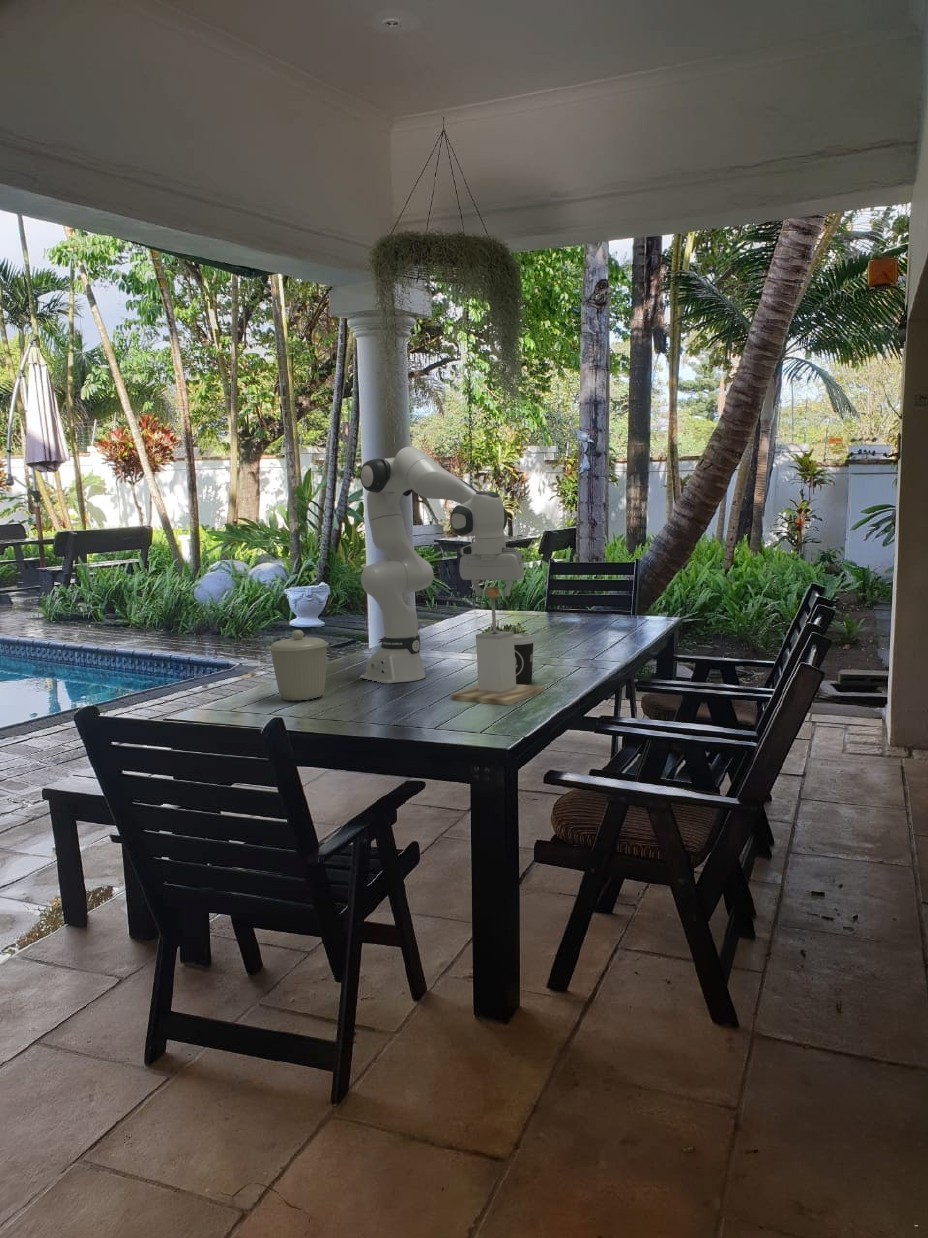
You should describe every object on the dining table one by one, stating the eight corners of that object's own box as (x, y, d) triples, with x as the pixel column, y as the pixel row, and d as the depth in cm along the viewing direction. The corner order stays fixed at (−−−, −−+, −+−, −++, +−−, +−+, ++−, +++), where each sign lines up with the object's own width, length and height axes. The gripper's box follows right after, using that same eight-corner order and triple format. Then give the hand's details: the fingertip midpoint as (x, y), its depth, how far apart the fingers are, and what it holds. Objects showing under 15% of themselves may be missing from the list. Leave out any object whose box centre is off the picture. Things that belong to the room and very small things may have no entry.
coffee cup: (534, 686, 299) (532, 637, 297) (503, 686, 301) (501, 638, 299) (538, 680, 308) (536, 632, 306) (508, 680, 310) (506, 633, 308)
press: (478, 692, 287) (475, 634, 285) (498, 685, 296) (495, 629, 293) (501, 694, 282) (498, 636, 280) (520, 687, 291) (518, 630, 289)
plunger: (482, 658, 286) (478, 588, 283) (493, 654, 291) (489, 586, 288) (498, 659, 283) (495, 588, 280) (509, 655, 287) (506, 586, 285)
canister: (326, 689, 311) (321, 623, 308) (337, 700, 294) (332, 630, 291) (269, 696, 305) (263, 629, 303) (276, 707, 288) (271, 636, 285)
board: (450, 699, 286) (450, 694, 286) (488, 686, 302) (488, 681, 302) (508, 705, 274) (507, 700, 274) (544, 691, 290) (544, 686, 290)
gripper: (526, 546, 279) (529, 594, 281) (468, 547, 291) (470, 593, 293) (515, 548, 274) (517, 597, 276) (455, 548, 286) (458, 596, 287)
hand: (492, 595), depth 284 cm, fingers open, 8 cm apart
